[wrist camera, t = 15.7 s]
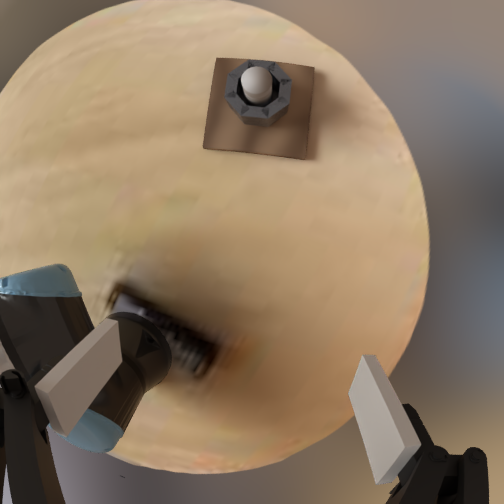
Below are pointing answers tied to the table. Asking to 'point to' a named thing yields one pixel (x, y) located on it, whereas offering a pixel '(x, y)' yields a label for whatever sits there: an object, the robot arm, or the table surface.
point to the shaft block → (260, 95)
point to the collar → (253, 113)
